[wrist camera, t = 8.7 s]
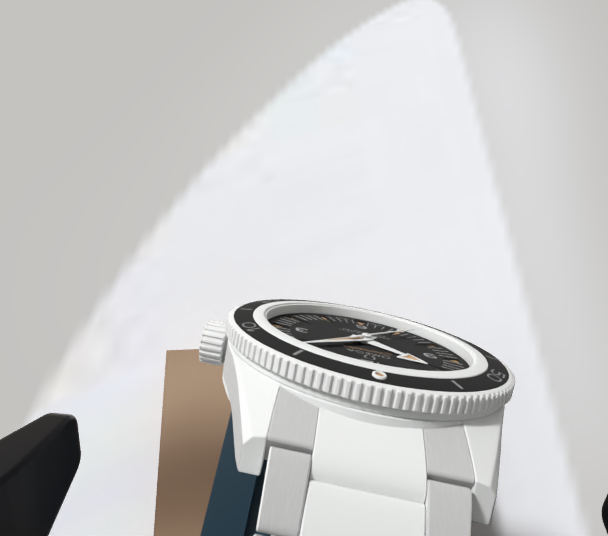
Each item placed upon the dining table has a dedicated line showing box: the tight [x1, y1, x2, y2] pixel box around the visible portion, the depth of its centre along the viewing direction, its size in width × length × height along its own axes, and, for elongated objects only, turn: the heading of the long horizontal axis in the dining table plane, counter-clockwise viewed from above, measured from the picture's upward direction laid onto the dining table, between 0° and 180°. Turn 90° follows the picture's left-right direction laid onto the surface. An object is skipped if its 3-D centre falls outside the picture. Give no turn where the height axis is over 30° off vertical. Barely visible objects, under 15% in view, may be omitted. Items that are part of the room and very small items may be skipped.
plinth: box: [154, 349, 231, 536], centre depth 16 cm, size 10×10×2 cm
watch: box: [199, 299, 515, 536], centre depth 10 cm, size 6×8×11 cm
